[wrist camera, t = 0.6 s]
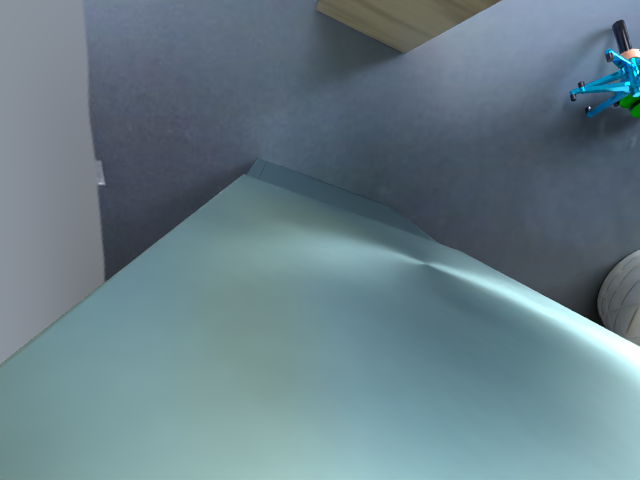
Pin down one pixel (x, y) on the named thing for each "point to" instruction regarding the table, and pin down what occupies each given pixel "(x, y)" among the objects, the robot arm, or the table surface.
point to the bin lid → (316, 363)
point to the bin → (333, 196)
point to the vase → (622, 299)
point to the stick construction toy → (617, 77)
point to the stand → (402, 18)
